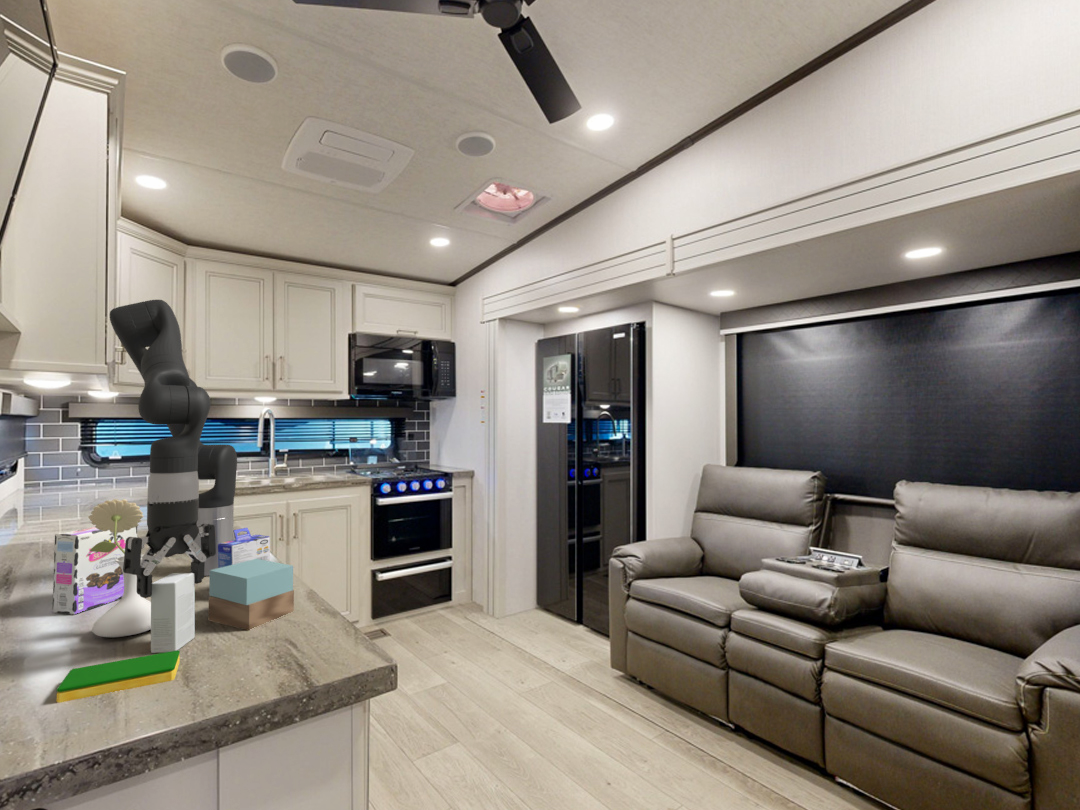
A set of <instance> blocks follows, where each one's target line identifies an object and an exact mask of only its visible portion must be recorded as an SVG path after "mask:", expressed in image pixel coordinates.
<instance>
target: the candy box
mask: <svg viewBox="0 0 1080 810" xmlns="http://www.w3.org/2000/svg"><path fill="white" fill-rule="evenodd" d="M128 537H138V526H137V527H134V528H131V529H130V530H124V532H119V533H116V540H117V543H118V544H119V545H120V547H121V548H122V549H123V550H124V551H125V543H126V539H127V538H128ZM102 541H106V542H111V543H115V541H114V533H111V532H110V530H108V531H102V530H99V529H97V528H96V527H95V526H91V527H86V528H81V529H77V530H72V531H66V532H60V533H54V550H53V551H54V553H53V555H54V556H53V557H54V559H53V560H54V561H53V585H52V586H53V587H52V589H53V590H52V613H56V614H66V615H72V614H74V615H77V613H78V614H80V612H81V613H82V611H84V612H86V611H89V610H92V609H94V607H95V608H97V606H98V607H101V606H104V605H107V604H109V603H108V602H110V603H113V602H115V600H116V601H118V599H119V600H121V598H122V596H123V593H124V577H123V572H122V569H121V567H120V565H119V564H118V563H117V562H116V561H115V559H117V558H120V557H123V556H124V553H123V552H122V551H121V550H120V549H119V548H118V547H117V545H116V547H115V548H114V549H113V550H112V551H111V552H92V551H90V550H91V549H92V548H93V547H94V546H95V545H96V544H98V543H100V542H102ZM112 601H113V602H112ZM106 603H107V604H106ZM103 604H104V605H103ZM100 605H101V606H100ZM91 608H92V609H91ZM88 609H89V610H88ZM85 610H86V611H85Z"/></svg>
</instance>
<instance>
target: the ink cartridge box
mask: <svg viewBox="0 0 1080 810" xmlns="http://www.w3.org/2000/svg"><path fill="white" fill-rule="evenodd" d="M233 532H234V535H235V539H236V540H232V541H228V542H224V543H220V544H218V568H221V567H225V566H229V565H233V564H237V563H241V562H245V561H249V560H253V559H261V560H266V561H271V537H270V536H269V535H262V534H254V535H252V534H251V533H250V532H251V531H250V530H249V529H248V527H244V528H237V529H233ZM241 532H244V533H243V534H240V535H238V534H239V533H241Z"/></svg>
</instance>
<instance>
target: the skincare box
mask: <svg viewBox="0 0 1080 810" xmlns="http://www.w3.org/2000/svg"><path fill="white" fill-rule="evenodd" d="M195 590H196V589H195V574H194V573H191V572H175V573H174V572H173V573H169V574H168V575H165V576H164V577H162V578H160V579H158V580H156V581H154V582H152V596H151V597H150V602H151V629H150V653H151V654H160V653H165V652H171V651H177V650H178V651H180V649H181V648H182V647H184V646H186V645H187V644H188V643H189V642H191V640H193V639H195V633H196V631H195V627H196V625H195V623H196V622H195V621H196V620H195V619H196V617H195V615H196V613H195V609H196V608H195V606H196V605H195V602H196V601H195V592H196V591H195Z"/></svg>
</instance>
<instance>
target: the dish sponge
mask: <svg viewBox="0 0 1080 810" xmlns="http://www.w3.org/2000/svg"><path fill="white" fill-rule="evenodd" d="M180 653H181V651H180V650H177V651H171V652H165V653H153V654H150V655H144V656H143V655H142V656H139V657H132V658H125V659H121V660H115V661H109V662H104V663H100V664H99V663H98V664H93V665H87V666H80V667H76V668H72V669H70V670H69V672H68V673H67V674H66V676H65V677H64V678H63V680H62V681H61V682H60V684H59V685H58V686H57V688H56V703H59V704H60V703H65V702H70V701H74V700H75V701H76V700H81V699H86V698H91V697H96V696H100V694H101V695H106V694H105V693H107V694H111V693H110V692H112V693H116V692H115V691H117V692H121V691H120V690H122V691H126V689H127V690H130V689H131V690H132V689H136V688H142V687H146V686H151V685H152V686H153V685H157V684H163V683H167V682H171V681H174V680H175V679H176V675H177V674H178V673H177V672H178V669H179V665H180V661H181V660H180V659H181V658H180V656H181V655H180ZM90 696H91V697H90Z"/></svg>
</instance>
